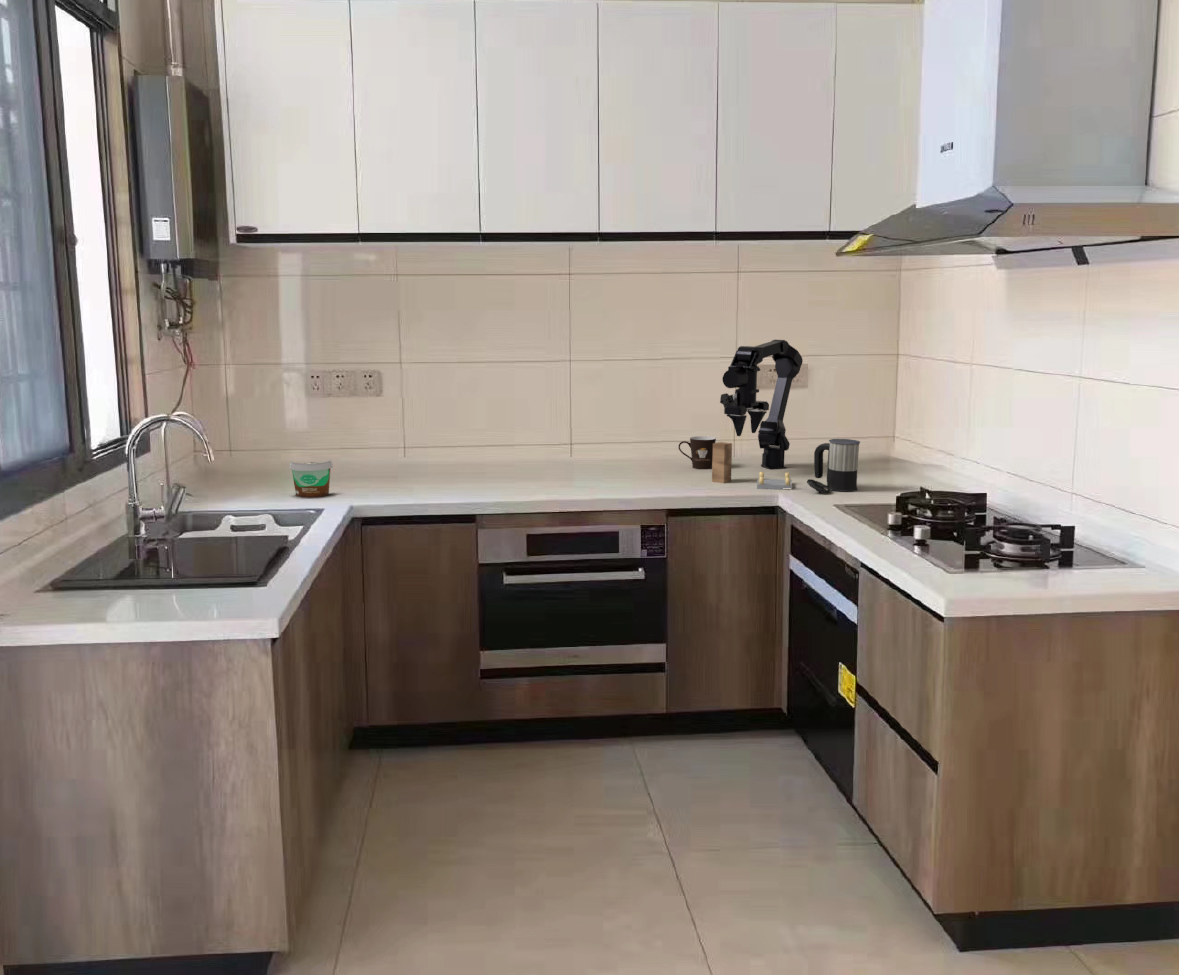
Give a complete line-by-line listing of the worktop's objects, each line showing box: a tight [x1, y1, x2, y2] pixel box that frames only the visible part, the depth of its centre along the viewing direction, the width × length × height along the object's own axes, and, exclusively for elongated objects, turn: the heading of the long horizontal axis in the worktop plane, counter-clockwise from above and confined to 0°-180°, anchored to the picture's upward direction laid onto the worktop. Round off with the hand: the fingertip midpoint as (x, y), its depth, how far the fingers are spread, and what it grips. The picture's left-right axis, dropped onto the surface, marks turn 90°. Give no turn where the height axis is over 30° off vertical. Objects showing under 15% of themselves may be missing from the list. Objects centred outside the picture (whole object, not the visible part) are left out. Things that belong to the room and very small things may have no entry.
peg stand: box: [756, 471, 793, 490], centre depth 343 cm, size 10×10×3 cm
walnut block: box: [711, 441, 733, 484], centre depth 349 cm, size 4×4×12 cm
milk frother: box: [806, 438, 861, 494], centre depth 335 cm, size 14×16×15 cm
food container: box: [289, 459, 334, 499], centre depth 323 cm, size 12×6×10 cm, turn 106°
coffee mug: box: [678, 435, 717, 470], centre depth 375 cm, size 12×9×10 cm
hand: (746, 434), depth 361 cm, fingers open, 9 cm apart
